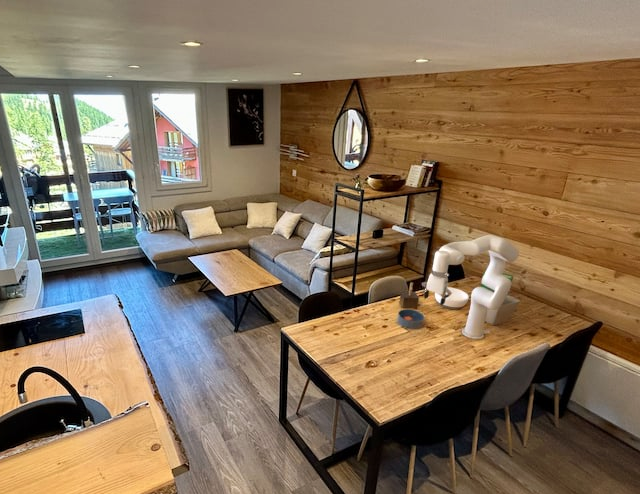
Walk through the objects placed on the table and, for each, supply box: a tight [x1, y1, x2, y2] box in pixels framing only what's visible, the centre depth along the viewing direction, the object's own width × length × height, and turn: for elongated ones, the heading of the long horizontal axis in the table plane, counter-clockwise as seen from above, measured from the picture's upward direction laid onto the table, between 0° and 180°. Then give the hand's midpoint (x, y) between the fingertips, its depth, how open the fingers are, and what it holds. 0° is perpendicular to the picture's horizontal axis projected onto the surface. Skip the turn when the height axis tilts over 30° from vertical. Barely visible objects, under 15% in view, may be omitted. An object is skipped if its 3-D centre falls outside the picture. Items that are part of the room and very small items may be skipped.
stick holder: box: [398, 290, 420, 310], centre depth 275 cm, size 10×10×9 cm
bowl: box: [434, 286, 470, 311], centre depth 279 cm, size 22×22×8 cm
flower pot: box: [485, 290, 521, 326], centre depth 258 cm, size 19×19×17 cm
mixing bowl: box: [396, 308, 425, 330], centre depth 254 cm, size 16×16×6 cm
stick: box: [408, 281, 414, 296], centre depth 274 cm, size 2×2×18 cm
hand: (433, 301), depth 219 cm, fingers open, 9 cm apart
